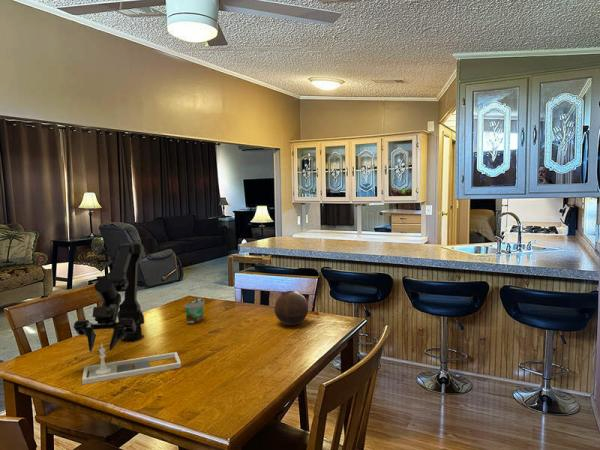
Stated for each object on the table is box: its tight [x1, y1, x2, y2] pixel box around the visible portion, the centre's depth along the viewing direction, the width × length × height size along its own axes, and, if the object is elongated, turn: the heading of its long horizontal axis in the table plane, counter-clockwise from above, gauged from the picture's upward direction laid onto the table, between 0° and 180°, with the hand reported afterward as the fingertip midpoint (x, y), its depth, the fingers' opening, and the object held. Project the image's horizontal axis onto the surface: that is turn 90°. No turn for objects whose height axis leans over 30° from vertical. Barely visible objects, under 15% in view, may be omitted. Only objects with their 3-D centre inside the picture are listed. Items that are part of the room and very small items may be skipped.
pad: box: [88, 366, 117, 378], centre depth 140 cm, size 8×9×1 cm
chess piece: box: [95, 342, 111, 376], centre depth 140 cm, size 5×5×10 cm
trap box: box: [81, 351, 182, 385], centre depth 143 cm, size 30×11×2 cm, turn 114°
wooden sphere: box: [273, 290, 309, 326], centre depth 189 cm, size 15×15×15 cm
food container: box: [184, 296, 206, 326], centre depth 194 cm, size 12×6×10 cm, turn 168°
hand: (100, 350), depth 138 cm, fingers open, 6 cm apart
